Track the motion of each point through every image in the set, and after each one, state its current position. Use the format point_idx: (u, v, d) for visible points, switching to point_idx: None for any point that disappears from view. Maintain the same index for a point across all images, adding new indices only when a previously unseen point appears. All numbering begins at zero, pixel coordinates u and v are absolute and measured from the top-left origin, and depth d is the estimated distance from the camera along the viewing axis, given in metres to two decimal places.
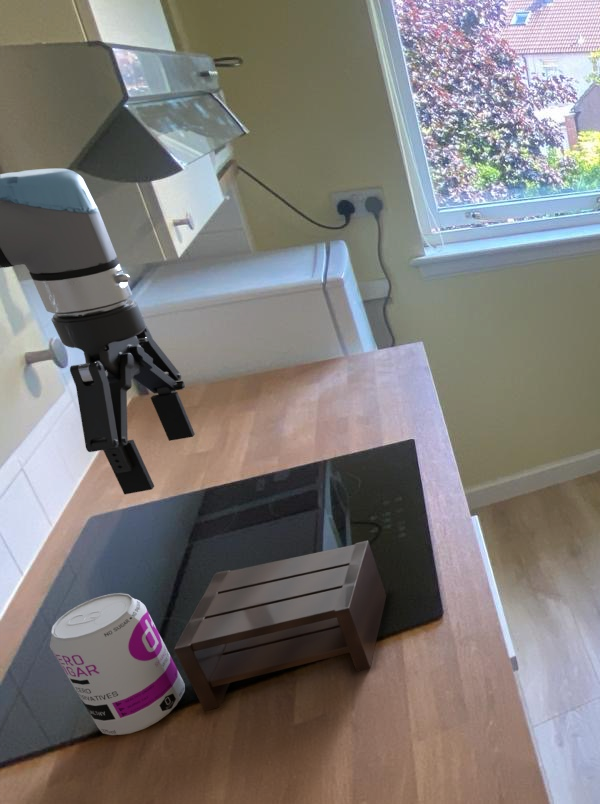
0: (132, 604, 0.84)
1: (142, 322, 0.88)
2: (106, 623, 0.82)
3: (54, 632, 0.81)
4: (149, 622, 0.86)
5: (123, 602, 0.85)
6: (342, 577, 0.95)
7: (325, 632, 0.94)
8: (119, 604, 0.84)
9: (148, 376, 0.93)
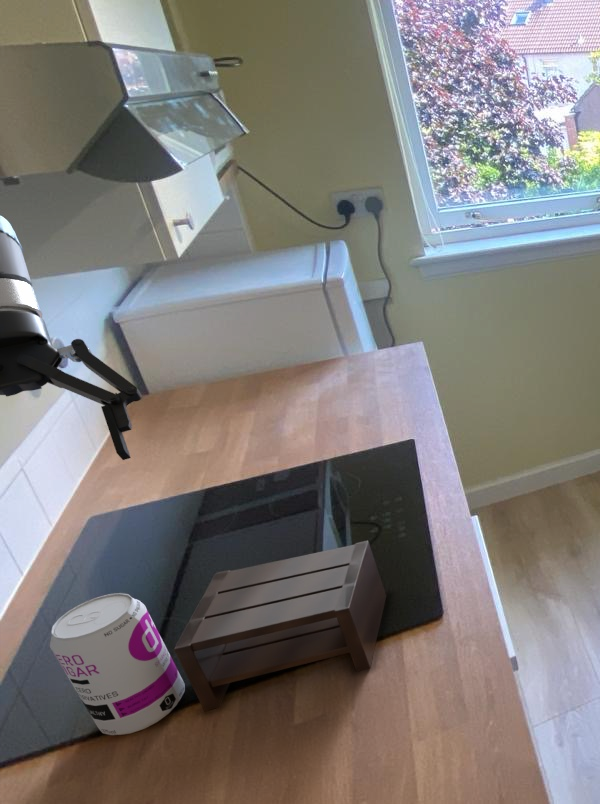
0: (132, 604, 0.84)
1: None
2: (106, 623, 0.82)
3: (54, 632, 0.81)
4: (149, 622, 0.86)
5: (123, 602, 0.85)
6: (342, 577, 0.95)
7: (325, 632, 0.94)
8: (119, 604, 0.84)
9: None
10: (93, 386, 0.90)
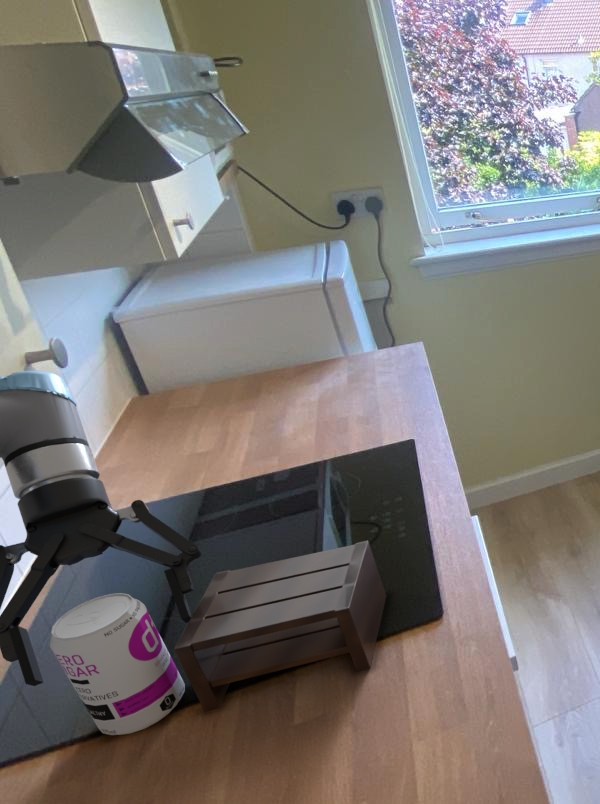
0: (132, 604, 0.84)
1: None
2: (106, 623, 0.82)
3: (54, 632, 0.81)
4: (149, 622, 0.86)
5: (123, 602, 0.85)
6: (342, 577, 0.95)
7: (325, 632, 0.94)
8: (119, 604, 0.84)
9: (38, 589, 0.85)
10: (155, 549, 0.90)
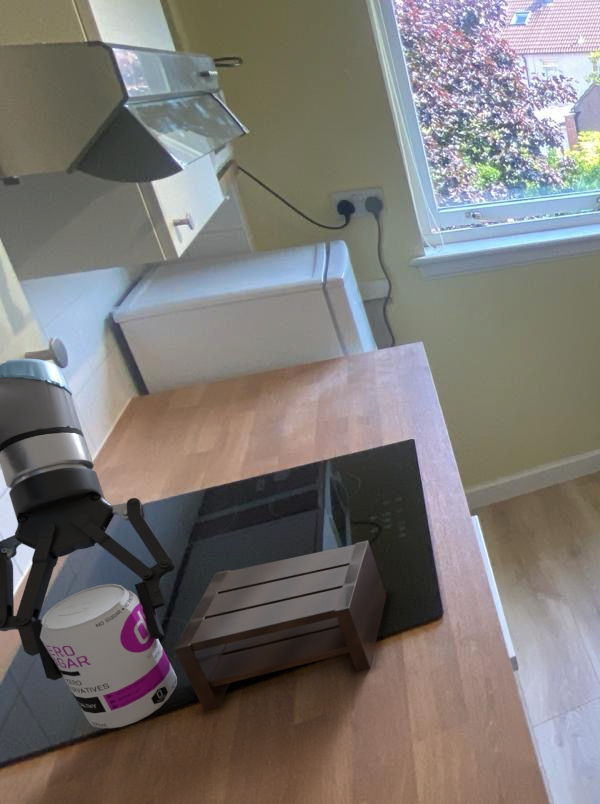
0: (124, 595, 0.83)
1: None
2: (98, 614, 0.80)
3: (45, 622, 0.79)
4: (141, 613, 0.85)
5: (115, 593, 0.84)
6: (342, 577, 0.95)
7: (325, 632, 0.94)
8: (111, 595, 0.83)
9: (46, 580, 0.84)
10: (133, 557, 0.87)
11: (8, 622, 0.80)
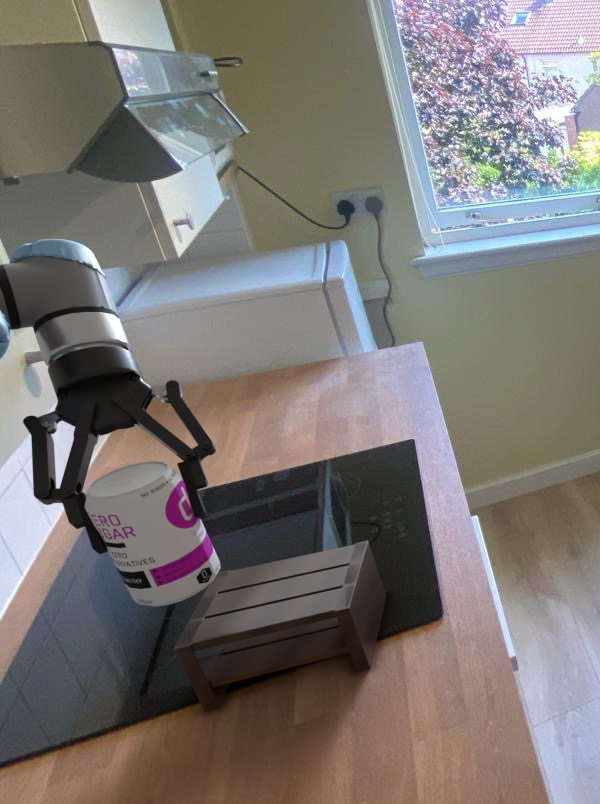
0: (168, 469, 0.82)
1: None
2: (142, 485, 0.79)
3: (89, 493, 0.78)
4: (185, 490, 0.83)
5: (158, 468, 0.82)
6: (342, 577, 0.95)
7: (325, 632, 0.94)
8: (155, 470, 0.82)
9: (88, 457, 0.82)
10: (174, 437, 0.86)
11: (52, 494, 0.79)
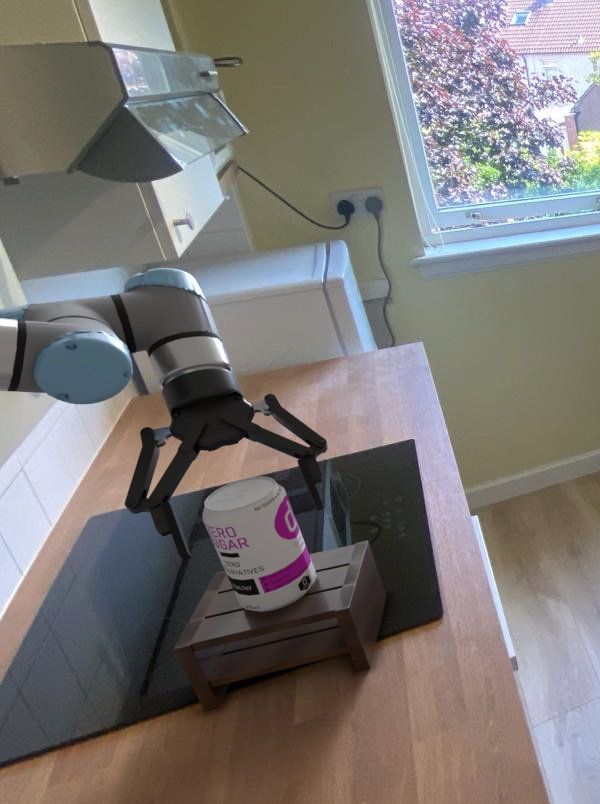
0: (275, 485, 0.88)
1: None
2: (255, 499, 0.85)
3: (207, 506, 0.84)
4: (289, 504, 0.90)
5: (265, 483, 0.89)
6: (342, 577, 0.95)
7: (325, 632, 0.94)
8: (263, 485, 0.88)
9: (183, 471, 0.88)
10: (288, 440, 0.93)
11: (139, 505, 0.84)
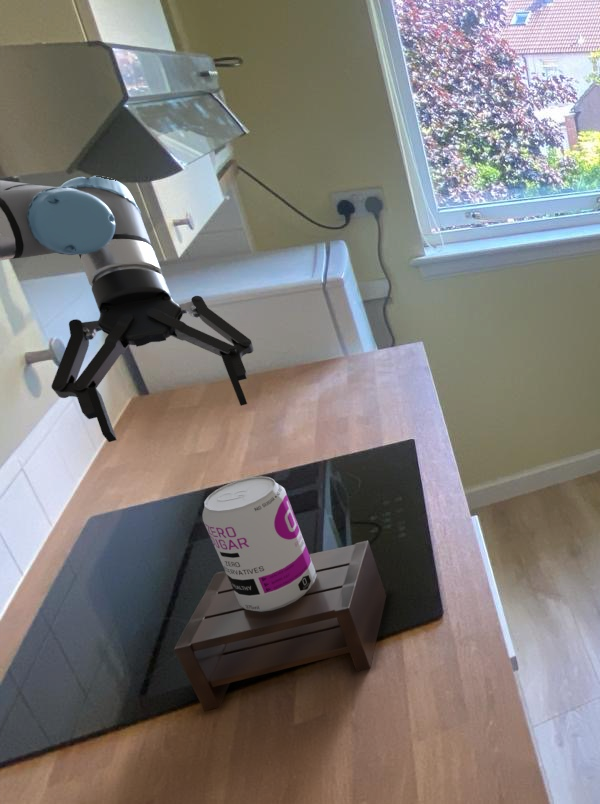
0: (275, 485, 0.88)
1: None
2: (255, 499, 0.85)
3: (207, 506, 0.84)
4: (289, 504, 0.90)
5: (265, 483, 0.89)
6: (342, 577, 0.95)
7: (325, 632, 0.94)
8: (263, 485, 0.88)
9: (110, 362, 0.94)
10: (213, 338, 0.99)
11: (66, 389, 0.90)
